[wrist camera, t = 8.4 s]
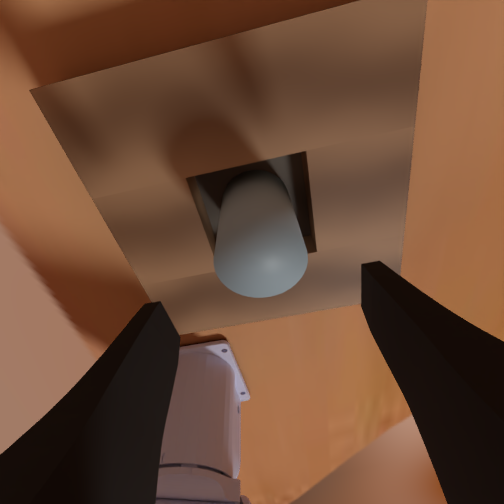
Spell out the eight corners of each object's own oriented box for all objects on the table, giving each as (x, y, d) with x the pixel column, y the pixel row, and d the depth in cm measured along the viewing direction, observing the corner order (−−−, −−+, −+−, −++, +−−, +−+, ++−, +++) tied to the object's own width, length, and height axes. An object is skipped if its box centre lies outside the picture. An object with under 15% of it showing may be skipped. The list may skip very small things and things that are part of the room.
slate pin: (294, 224, 18) (313, 288, 13) (232, 237, 19) (228, 304, 14) (282, 162, 16) (300, 211, 11) (213, 179, 16) (200, 234, 11)
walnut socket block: (382, 273, 21) (397, 297, 19) (177, 310, 23) (171, 336, 21) (398, -7, 12) (429, -19, 10) (60, 84, 14) (29, 90, 12)
